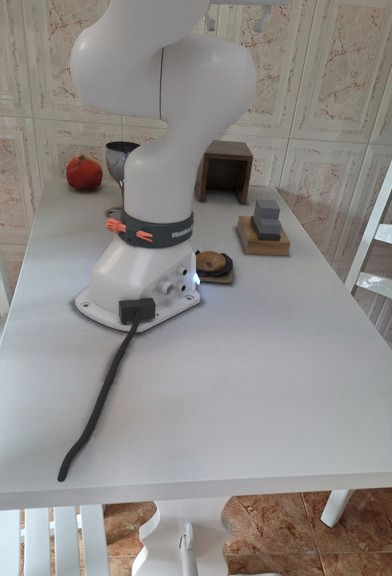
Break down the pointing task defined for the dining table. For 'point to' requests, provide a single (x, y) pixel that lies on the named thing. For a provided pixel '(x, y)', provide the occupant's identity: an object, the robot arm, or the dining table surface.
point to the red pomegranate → (84, 173)
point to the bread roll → (214, 267)
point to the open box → (225, 168)
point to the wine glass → (118, 166)
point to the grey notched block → (266, 220)
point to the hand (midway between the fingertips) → (234, 31)
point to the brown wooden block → (261, 246)
